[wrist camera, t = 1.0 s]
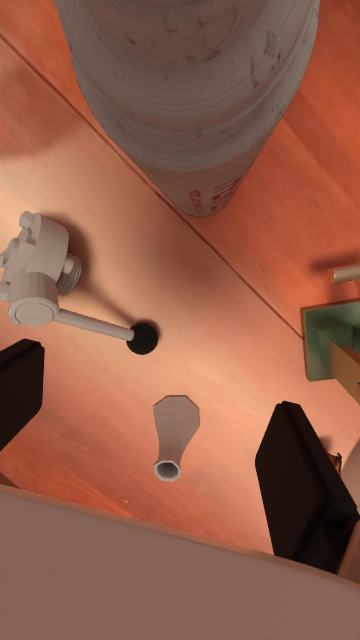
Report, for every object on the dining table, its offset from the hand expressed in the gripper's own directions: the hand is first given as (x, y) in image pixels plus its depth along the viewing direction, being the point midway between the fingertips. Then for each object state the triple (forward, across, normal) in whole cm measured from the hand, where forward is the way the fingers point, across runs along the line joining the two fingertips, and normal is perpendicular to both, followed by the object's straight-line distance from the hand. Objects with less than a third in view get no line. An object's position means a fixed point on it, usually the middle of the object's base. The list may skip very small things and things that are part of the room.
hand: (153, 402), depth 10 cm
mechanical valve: (+24, +12, +3) cm, 27 cm away
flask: (+24, -2, +20) cm, 31 cm away
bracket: (+24, -20, +2) cm, 31 cm away
